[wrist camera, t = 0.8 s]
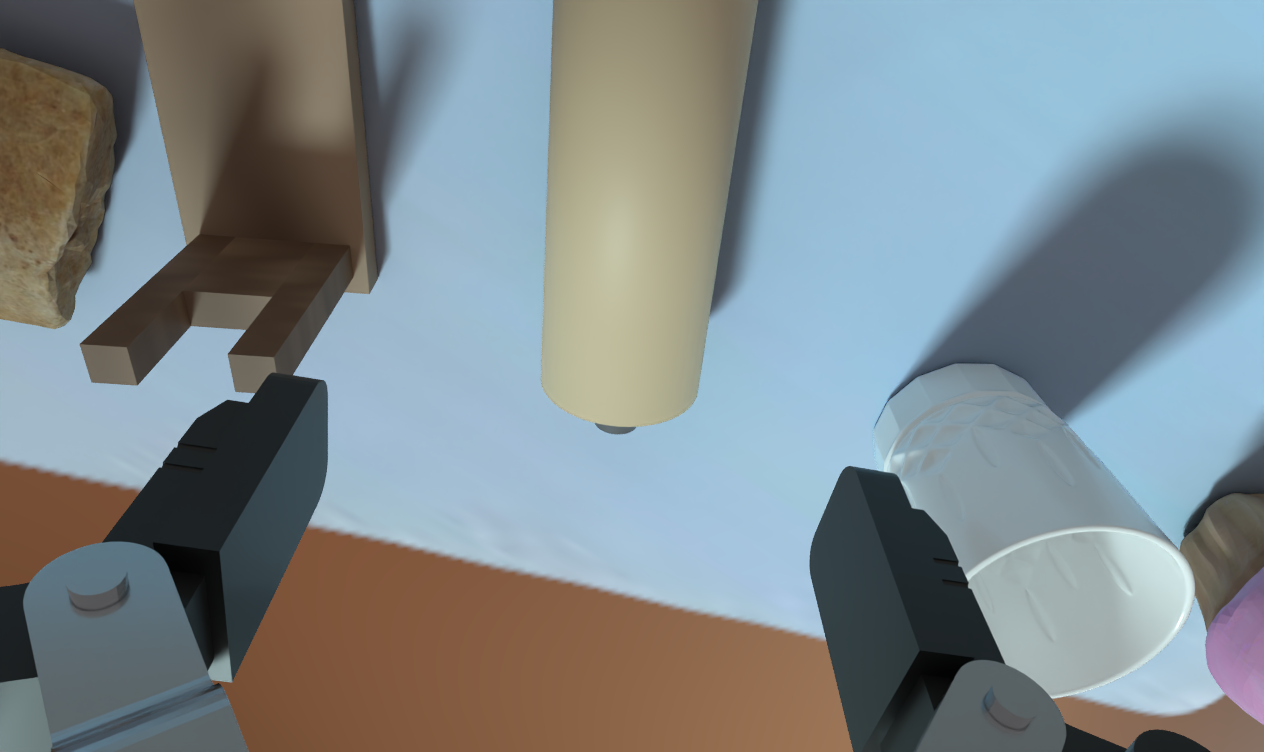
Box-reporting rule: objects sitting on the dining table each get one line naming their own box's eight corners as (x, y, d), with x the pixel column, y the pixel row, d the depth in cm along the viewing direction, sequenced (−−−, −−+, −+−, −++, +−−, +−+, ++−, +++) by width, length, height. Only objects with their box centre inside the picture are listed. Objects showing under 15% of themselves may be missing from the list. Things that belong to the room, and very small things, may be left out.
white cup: (851, 367, 32) (930, 549, 24) (1059, 330, 32) (1217, 507, 23) (862, 515, 37) (933, 715, 28) (1046, 486, 36) (1176, 683, 27)
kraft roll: (774, -218, 23) (813, -234, 18) (686, 384, 33) (697, 474, 28) (568, -240, 22) (552, -263, 18) (545, 374, 33) (532, 463, 28)
